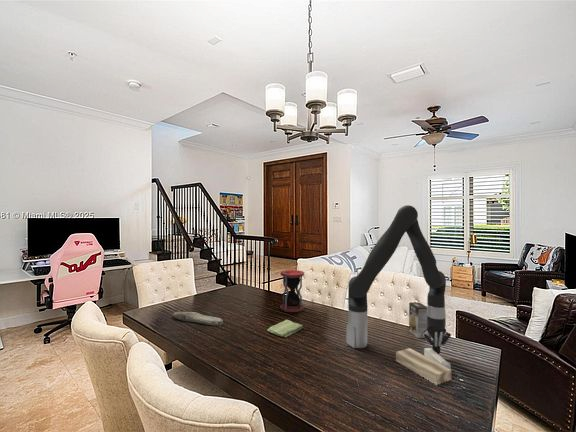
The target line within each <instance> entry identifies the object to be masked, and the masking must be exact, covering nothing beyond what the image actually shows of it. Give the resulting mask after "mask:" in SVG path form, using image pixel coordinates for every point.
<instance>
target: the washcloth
mask: <svg viewBox="0 0 576 432" xmlns="http://www.w3.org/2000/svg"><path fill="white" fill-rule="evenodd" d="M303 327H304V326H303V324H300V323H297V322H293V321H291V320H289V319H285V320H283V321H281V322H279V323H277V324H274V325H272V326H270V327H269V328H267V330H266V332H268V333H270V334H273V335H276V336H280V337H282V338H284V339H285V338H287V337H289V336H291V335H293V334H295V333H296V332H299V331H301V330H302V329H303Z"/></svg>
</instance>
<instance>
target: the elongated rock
mask: <svg viewBox="0 0 576 432" xmlns="http://www.w3.org/2000/svg"><path fill="white" fill-rule="evenodd" d="M172 316H173V318H174V319H176V320H179V321H182V322H189V323H197V324H203V325H206V326H215V327H216V326H222V325H223V324H224V320H223V318H220V317H215V316H211V315H204V314H201V313H198V312H195V311H194V312H193V311H176V312H173V314H172Z"/></svg>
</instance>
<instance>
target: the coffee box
mask: <svg viewBox="0 0 576 432" xmlns="http://www.w3.org/2000/svg"><path fill="white" fill-rule="evenodd" d="M408 305H409V306H408V309H409V310H408V311H409V312H408V322H409V323H408V331H409V333H411V334H412V335H413V336H415V337H416V338H417V339H425V338H424V336H423V335H422V332H426V331H427V330H426V329H427V305H425V304H423V303H422V302H414V301H413V302H409V304H408Z"/></svg>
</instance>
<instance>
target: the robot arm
mask: <svg viewBox="0 0 576 432" xmlns="http://www.w3.org/2000/svg"><path fill="white" fill-rule="evenodd" d="M418 215H419V214H418V210H417V208H416V207H414V206H413V205H403V206H401V207H400V208H399V209H398V210H397V213H396V214H395V215H394V216H395V217H394V218H393V220H392V221H391V224H390V225H389V226H388V228H387V229H386V230H385V231H384V233H383V234H382V235H381V236H380V238H379V239H378V241H377V242H376V243H375V244H374V245H373V246H372V249H371V250H370V253H369V254H368V257H367V259H366V260H365V263H364V266H363V267H362V268H361V271H360V272H359V273H357V275H355V276H353V277H351V278H350V279H349V281H348V293H347V294H348V296H347V297H348V298H347V301H348V303H347V307H348V312H347V315H348V318H347V320H348V321H347V324H346V340H345V342H346V344H347V345H349V346H350V347H352V348H353V349H364V348H367V346H368V292H369V290H370V289H371V287H372V285H373V283H374V281H375V279H376V277H377V276H378V275H379V274H380V273H381V272H382V270H383V268H385V266H386V264H387V263H389V261H390V260H391V258H392V257H393V255H394V254H395V252H396V250H397V249H398V246H399V244H400V242H401V240H402V239H403V236H404V235H405V234H407V236H408V238H409V240H410V243H411V245H412V248H413V251H414V253H415V256H416V258H417V260H418V263H419V264H420V267H421V271H422V272H421V273H422V275H423V277H424V281H425V283H426V284H427V286H429V287H428V293H427V300H426V301H427V302H426V306H427V329H426V330H427V331H426V332H422V335H423V336H424V338H423V339H425V340H426V342H427V344H429V345H430V346H431V349H433V350H434V351H435V352H436V353H437V354H438V355H440V353H441V346H444V345H446V343H447V342H448V341H449V339H450V338H451V336H452V333H450V332H449V331H447V329H446V327H447V326H446V307H445V306H446V304H445V303H446V301H445V300H446V299H445V295H446V294H445V293H446V286H447V285H446V283H447V279H446V278H447V277H446V275H445V273H444V272H442V271H440V270H439V269H438V267H437V259H436V257H435V255H434V253H433V250H432V248H431V247H430V245H429V243H428V241H427V240H426V238H425V236H424V234H423V232H422V230H421V228H420V225H419V224H420V223H419V221H418V219H419V218H418V217H419V216H418Z"/></svg>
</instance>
